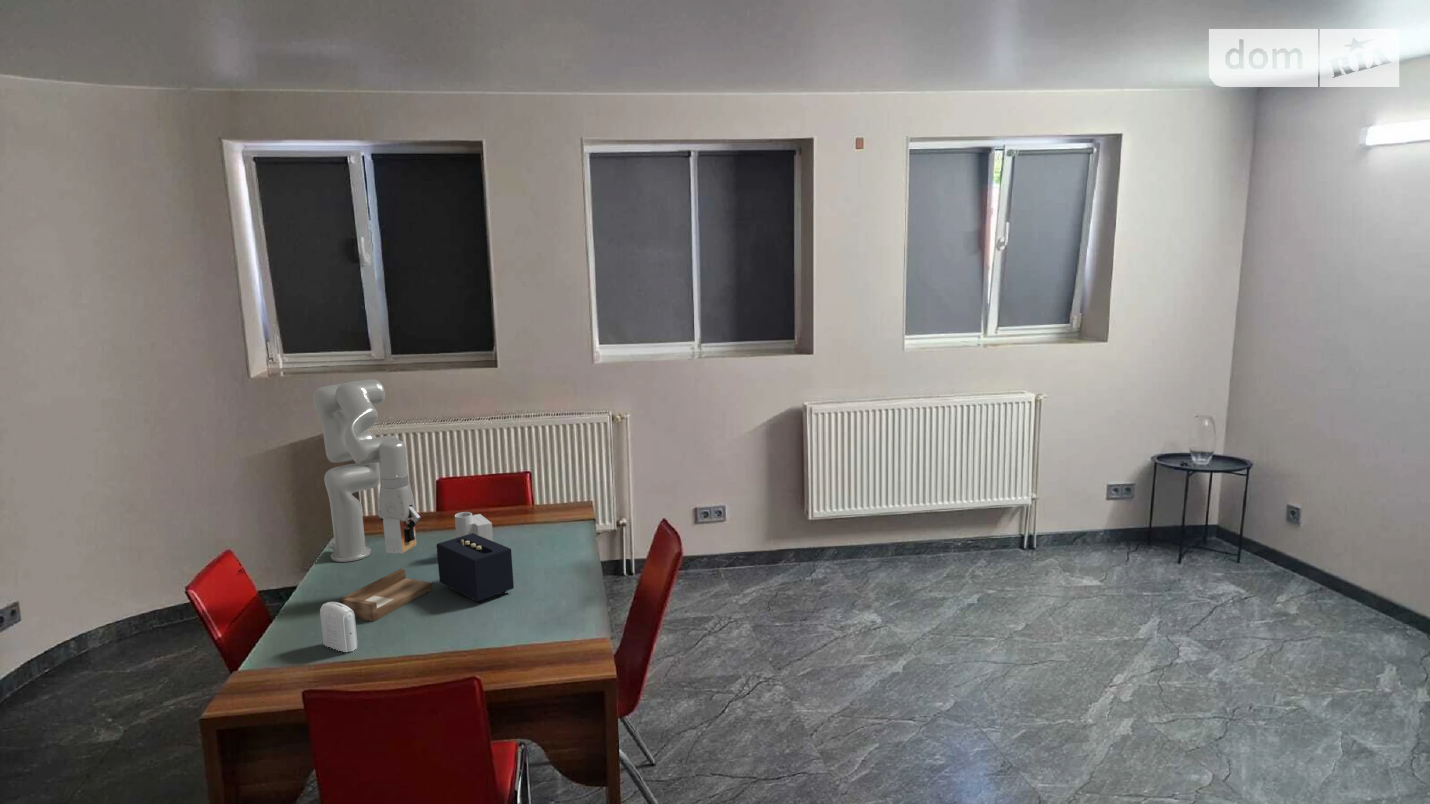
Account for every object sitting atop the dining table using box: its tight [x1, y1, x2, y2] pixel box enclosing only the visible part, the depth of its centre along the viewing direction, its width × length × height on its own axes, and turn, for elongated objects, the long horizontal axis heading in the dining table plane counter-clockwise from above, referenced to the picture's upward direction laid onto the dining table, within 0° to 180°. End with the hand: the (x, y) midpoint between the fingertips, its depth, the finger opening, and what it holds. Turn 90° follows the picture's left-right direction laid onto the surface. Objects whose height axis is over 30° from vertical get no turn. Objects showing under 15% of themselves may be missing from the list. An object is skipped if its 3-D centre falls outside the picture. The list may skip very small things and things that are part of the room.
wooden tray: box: [339, 568, 433, 622], centre depth 245 cm, size 12×24×5 cm, turn 157°
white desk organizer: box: [454, 511, 494, 542], centre depth 280 cm, size 12×14×15 cm
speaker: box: [436, 533, 515, 604], centre depth 252 cm, size 22×13×15 cm, turn 47°
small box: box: [382, 518, 418, 554], centre depth 249 cm, size 8×6×10 cm
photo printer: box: [319, 601, 358, 652], centre depth 217 cm, size 10×4×12 cm, turn 61°
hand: (400, 539), depth 249 cm, fingers closed on small box, 6 cm apart
